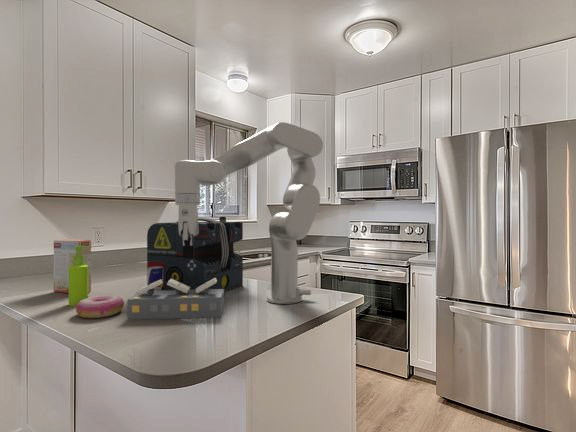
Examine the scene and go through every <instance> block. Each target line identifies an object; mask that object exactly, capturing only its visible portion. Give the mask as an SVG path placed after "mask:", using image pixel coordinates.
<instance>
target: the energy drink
mask: <svg viewBox="0 0 576 432" xmlns="http://www.w3.org/2000/svg"><path fill="white" fill-rule="evenodd" d="M160 279H162V281H163V267H160V266H155V267H148V270H147V269H146V286H147V285H149V284H151V283H154V282H156V281H158V280H160ZM154 290H163V283H162V284H160V285H159V286H156V287H154Z"/></svg>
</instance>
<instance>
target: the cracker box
mask: <svg viewBox="0 0 576 432" xmlns="http://www.w3.org/2000/svg"><path fill="white" fill-rule="evenodd" d="M75 246H90V247H91V248H81V255H84V265H88V293H90V292H92V240H91V239H55V240H53V292H54V293H64V294H69V266H72V265H73V256H74V255H76V249H74V248H73V247H75Z"/></svg>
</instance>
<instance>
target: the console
mask: <svg viewBox="0 0 576 432" xmlns="http://www.w3.org/2000/svg"><path fill="white" fill-rule="evenodd" d="M126 306H127V312H126V313H127V317H126V319H127V321H134V320H135V321H136V320H139V321H140V320H165V319H166V320H167V319H168V320H169V319H171V320H172V319H200V318H203V319H204V318H221V317H222V314H223V312H224V308H225V292H224V289H209V287H208V288H206V289H204V290H202V291H201V292H199V293H196V291H195V290H189V291H188V292H187V293H185V292H182V291H180V290H178V289H177V290H154V288H152V289H150V290H148V291H145V292H143V293H141V294H139V292H138V291H137V292H136V293H135V294H133V295H131V296H130V297H129V298H127V305H126Z"/></svg>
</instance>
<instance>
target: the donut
mask: <svg viewBox="0 0 576 432" xmlns="http://www.w3.org/2000/svg"><path fill="white" fill-rule="evenodd" d="M124 306H125V301H124V300H123V298H122V297H121V296H119V295H115V294H113V295H112V294H110V295H109V294H106V295H104V294H103V295H96V296H90V297H88V298H87V299H84V300H81V301H80V302H79V303H78V304H77V306H75V312H76V314H77V316H79V317H80V318H83V319H84V318H85V319H99V318H100V319H102V318H107V317H111V316H114V315H116V314H119V313H120V312H121V311H122V310H123V308H124Z"/></svg>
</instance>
